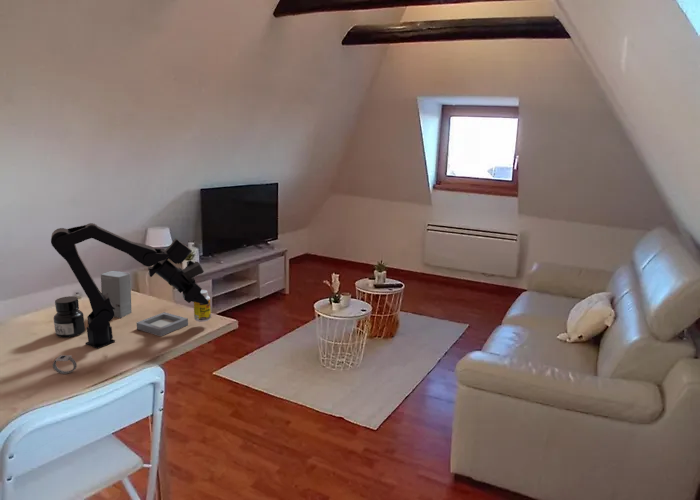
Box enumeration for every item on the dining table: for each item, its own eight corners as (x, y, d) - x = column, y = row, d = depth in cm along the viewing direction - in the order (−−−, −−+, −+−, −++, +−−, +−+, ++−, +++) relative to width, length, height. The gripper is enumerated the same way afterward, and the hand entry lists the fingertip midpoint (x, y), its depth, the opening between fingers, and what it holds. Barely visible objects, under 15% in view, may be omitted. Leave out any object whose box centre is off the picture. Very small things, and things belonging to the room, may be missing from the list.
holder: (160, 336, 178) (160, 329, 177) (136, 329, 184) (136, 322, 183) (188, 324, 188) (187, 318, 187) (164, 318, 194) (164, 312, 193)
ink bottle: (49, 334, 178) (44, 301, 175) (73, 326, 186) (69, 293, 183) (67, 340, 174) (63, 306, 171) (91, 331, 182) (87, 298, 179)
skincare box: (102, 316, 196) (97, 274, 192) (115, 309, 202) (111, 269, 198) (121, 318, 193) (117, 276, 189) (134, 312, 200) (130, 271, 196)
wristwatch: (79, 370, 154) (77, 354, 152) (74, 375, 151) (72, 359, 150) (57, 370, 153) (55, 354, 152) (52, 375, 151) (50, 359, 149)
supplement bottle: (199, 323, 182) (198, 295, 180) (191, 319, 186) (190, 291, 184) (214, 319, 186) (212, 291, 184) (206, 315, 190) (204, 288, 188)
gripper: (193, 262, 171) (228, 290, 178) (182, 249, 187) (215, 276, 195) (169, 288, 169) (206, 316, 177) (160, 273, 185) (194, 299, 193)
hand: (205, 300), depth 185 cm, fingers closed on supplement bottle, 6 cm apart
